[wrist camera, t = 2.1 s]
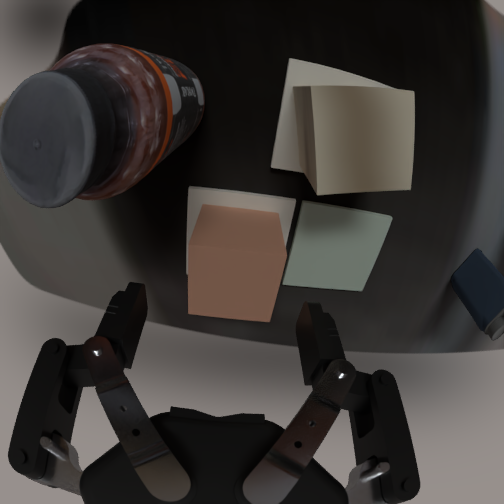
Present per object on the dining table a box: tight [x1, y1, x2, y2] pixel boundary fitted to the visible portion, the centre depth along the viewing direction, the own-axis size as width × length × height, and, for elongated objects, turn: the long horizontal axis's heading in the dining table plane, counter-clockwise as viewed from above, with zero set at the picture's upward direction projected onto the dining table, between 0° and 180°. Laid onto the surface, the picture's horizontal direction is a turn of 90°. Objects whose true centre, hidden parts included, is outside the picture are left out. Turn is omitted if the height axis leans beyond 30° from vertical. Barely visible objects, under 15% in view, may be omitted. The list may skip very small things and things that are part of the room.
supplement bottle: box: [0, 44, 205, 208], centre depth 10 cm, size 6×6×11 cm
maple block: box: [293, 85, 415, 195], centre depth 13 cm, size 5×5×5 cm
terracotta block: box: [188, 204, 287, 322], centre depth 18 cm, size 5×5×5 cm
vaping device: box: [451, 248, 504, 340], centre depth 17 cm, size 3×5×12 cm, turn 146°
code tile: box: [186, 186, 296, 274], centre depth 20 cm, size 7×7×1 cm
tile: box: [271, 58, 394, 173], centre depth 15 cm, size 7×7×1 cm
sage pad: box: [282, 200, 393, 291], centre depth 20 cm, size 7×7×1 cm
